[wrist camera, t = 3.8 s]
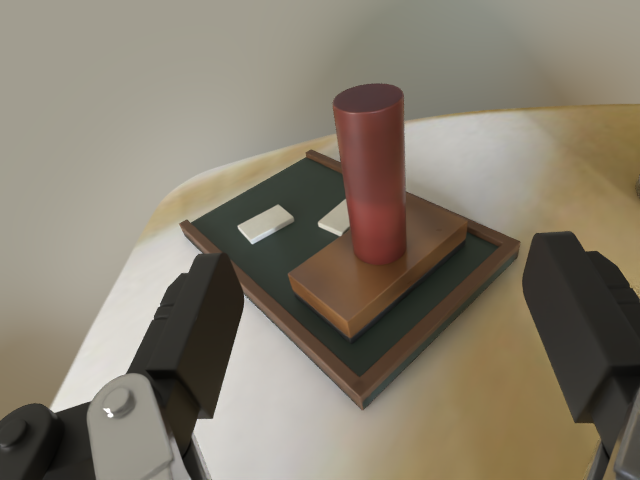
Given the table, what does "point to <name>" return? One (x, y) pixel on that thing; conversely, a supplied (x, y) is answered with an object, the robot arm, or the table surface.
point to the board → (308, 239)
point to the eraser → (375, 221)
